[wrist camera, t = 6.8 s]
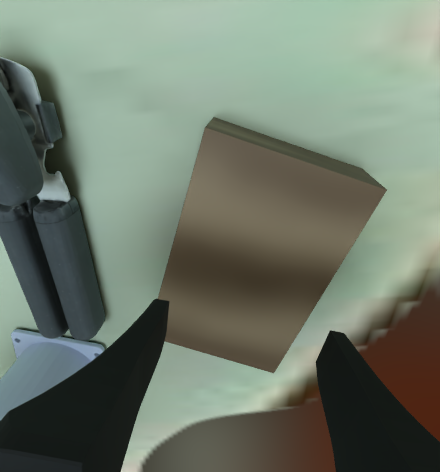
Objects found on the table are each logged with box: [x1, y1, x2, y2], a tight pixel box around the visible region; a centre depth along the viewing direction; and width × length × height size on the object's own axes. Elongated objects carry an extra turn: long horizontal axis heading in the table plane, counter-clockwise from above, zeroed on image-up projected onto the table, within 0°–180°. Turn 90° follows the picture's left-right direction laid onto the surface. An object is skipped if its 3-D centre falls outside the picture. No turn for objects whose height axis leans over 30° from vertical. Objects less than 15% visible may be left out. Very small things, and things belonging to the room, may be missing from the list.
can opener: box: [0, 57, 105, 341], centre depth 18 cm, size 19×5×6 cm, turn 1°
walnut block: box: [158, 118, 387, 373], centre depth 19 cm, size 14×9×4 cm, turn 163°
